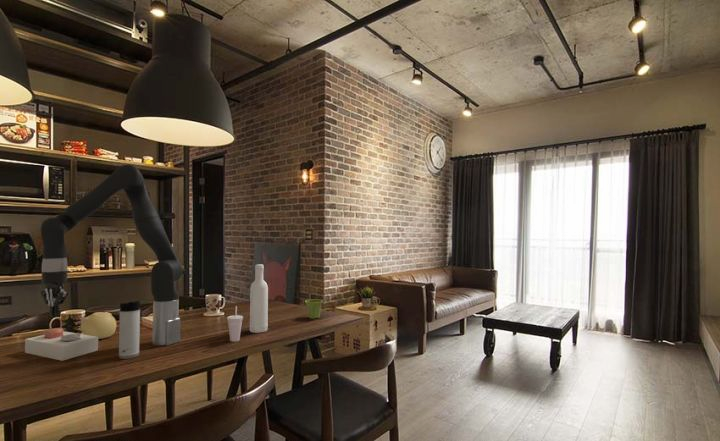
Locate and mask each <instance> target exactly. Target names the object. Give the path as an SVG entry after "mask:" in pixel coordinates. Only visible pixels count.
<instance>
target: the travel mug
mask: <svg viewBox="0 0 720 441" xmlns="http://www.w3.org/2000/svg"><path fill="white" fill-rule="evenodd" d="M140 306H141V301H140V300H136V301H135V300H134V301H128V302H125V303H124V302H121V303H120V305H119V308H120V309H119V326H118V327H119V328H118V329H119V330H118V331H119V333H118V334H119V336H118V344H119V345H118V358H119V359H121V360H128V359H133V358H134V359H135V358H136V357H138V356H139V355H140V334H141V332H140V331H141V328H140V327H141V325H140V324H141V323H140V322H141V307H140Z"/></svg>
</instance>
